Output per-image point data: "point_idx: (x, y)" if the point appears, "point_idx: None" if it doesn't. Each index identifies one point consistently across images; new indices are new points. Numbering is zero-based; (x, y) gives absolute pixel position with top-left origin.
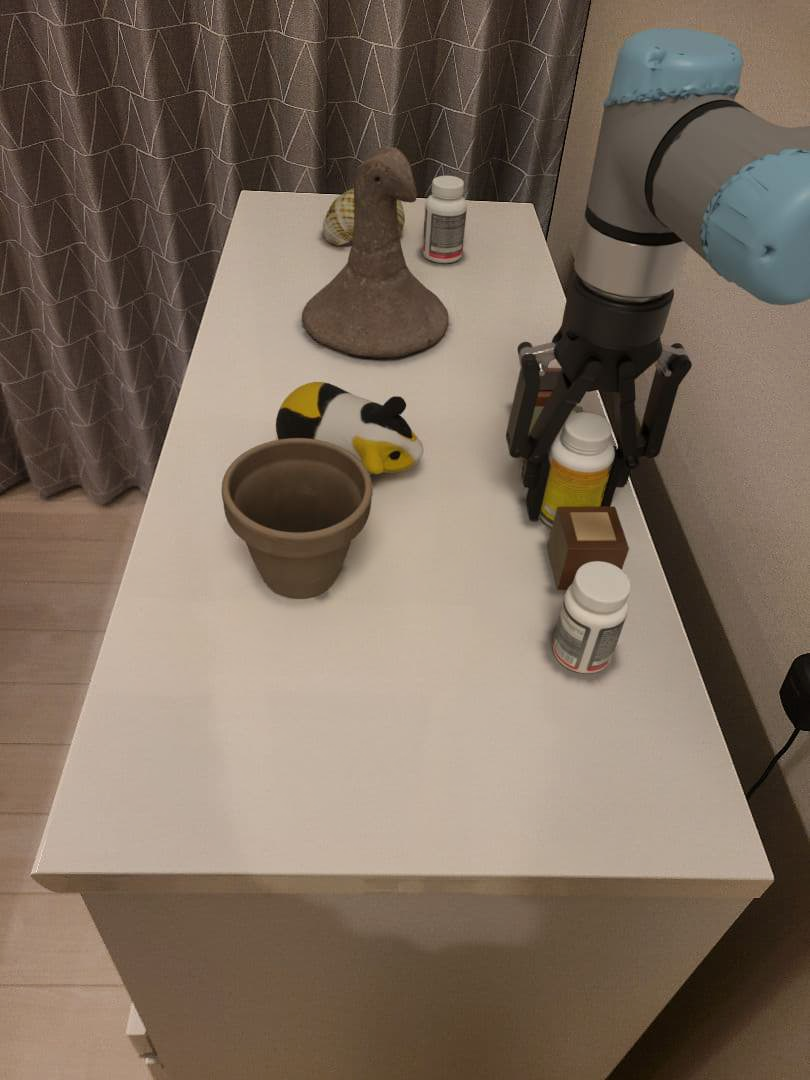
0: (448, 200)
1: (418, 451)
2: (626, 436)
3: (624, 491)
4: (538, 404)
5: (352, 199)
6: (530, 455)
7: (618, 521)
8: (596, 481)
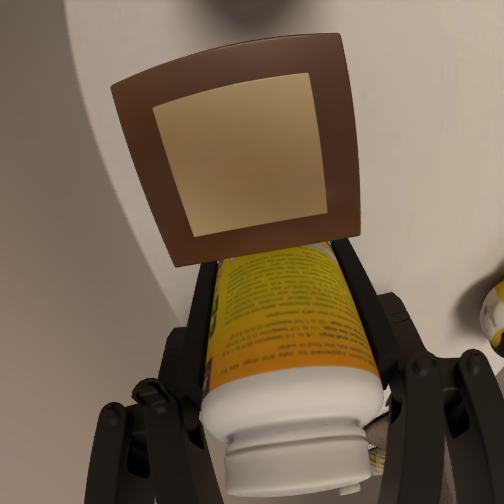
0: (350, 485)
1: (501, 315)
2: (177, 476)
3: (180, 321)
4: None
5: None
6: (438, 369)
7: (154, 206)
8: (243, 339)
